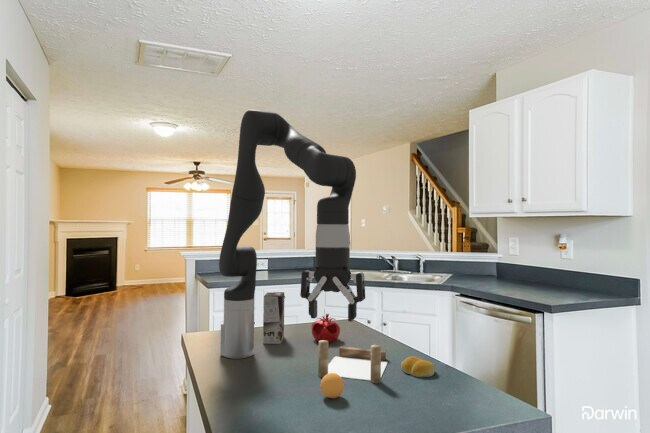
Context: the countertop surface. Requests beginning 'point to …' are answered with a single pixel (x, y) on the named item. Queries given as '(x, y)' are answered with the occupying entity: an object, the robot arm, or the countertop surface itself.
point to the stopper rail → (359, 353)
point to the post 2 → (375, 363)
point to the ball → (332, 385)
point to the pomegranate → (325, 329)
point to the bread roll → (417, 367)
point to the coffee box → (273, 318)
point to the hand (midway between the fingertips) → (332, 319)
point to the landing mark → (353, 368)
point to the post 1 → (323, 358)
